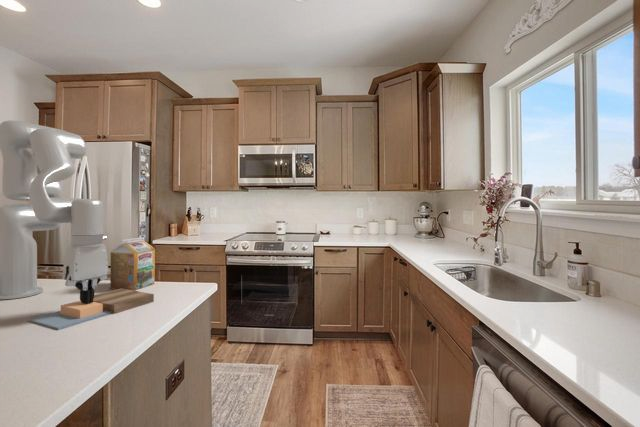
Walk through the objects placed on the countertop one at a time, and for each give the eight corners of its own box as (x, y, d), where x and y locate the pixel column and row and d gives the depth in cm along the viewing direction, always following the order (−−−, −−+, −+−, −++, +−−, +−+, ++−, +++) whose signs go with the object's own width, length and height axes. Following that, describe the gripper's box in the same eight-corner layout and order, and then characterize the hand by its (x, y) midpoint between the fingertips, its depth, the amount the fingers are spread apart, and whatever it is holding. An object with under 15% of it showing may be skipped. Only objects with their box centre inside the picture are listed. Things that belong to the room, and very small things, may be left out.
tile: (60, 313, 88) (60, 305, 88) (83, 307, 93) (83, 299, 93) (80, 318, 84) (80, 309, 84) (102, 311, 90) (102, 303, 90)
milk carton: (134, 290, 114) (134, 240, 114) (110, 288, 116) (110, 239, 116) (154, 284, 124) (155, 237, 124) (132, 282, 126) (132, 236, 126)
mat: (28, 321, 83) (28, 319, 83) (82, 306, 95) (82, 305, 95) (58, 329, 78) (58, 327, 78) (111, 313, 90) (111, 311, 90)
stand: (81, 306, 96) (81, 298, 96) (121, 295, 108) (121, 288, 108) (114, 313, 90) (114, 305, 90) (153, 301, 102) (153, 294, 102)
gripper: (105, 238, 98) (105, 294, 98) (49, 242, 84) (49, 308, 85) (120, 239, 95) (120, 297, 96) (65, 244, 81) (65, 312, 82)
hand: (87, 302), depth 90 cm, fingers closed
